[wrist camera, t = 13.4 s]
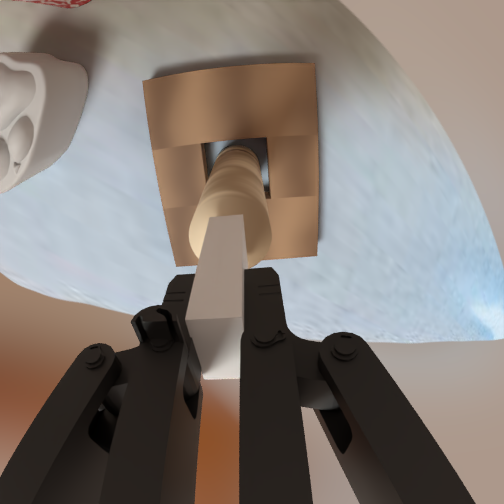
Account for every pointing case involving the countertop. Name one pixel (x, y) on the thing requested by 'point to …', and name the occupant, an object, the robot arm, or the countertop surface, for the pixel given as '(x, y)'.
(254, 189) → the leg
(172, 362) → the robot arm
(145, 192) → the countertop surface
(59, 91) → the lumpy-topped squat cylinder
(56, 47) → the countertop surface
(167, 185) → the seat board
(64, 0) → the mug
